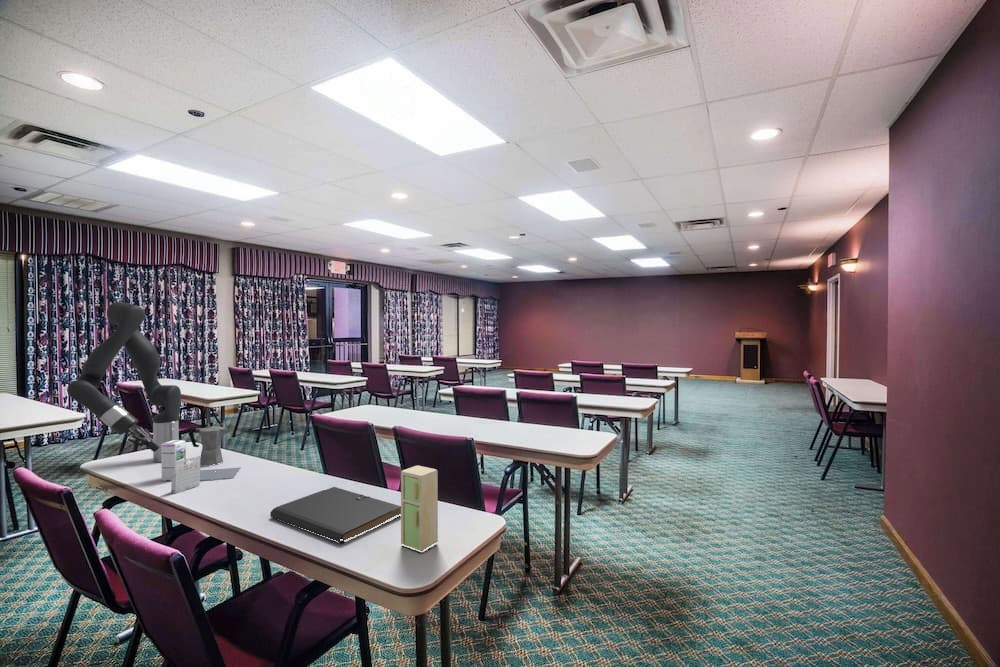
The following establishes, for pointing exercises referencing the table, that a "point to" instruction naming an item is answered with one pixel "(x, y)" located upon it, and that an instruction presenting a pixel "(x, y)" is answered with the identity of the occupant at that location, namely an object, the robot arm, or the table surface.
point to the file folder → (336, 513)
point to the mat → (218, 473)
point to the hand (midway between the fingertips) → (157, 449)
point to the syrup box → (172, 457)
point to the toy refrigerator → (419, 507)
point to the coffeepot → (209, 443)
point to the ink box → (186, 475)
